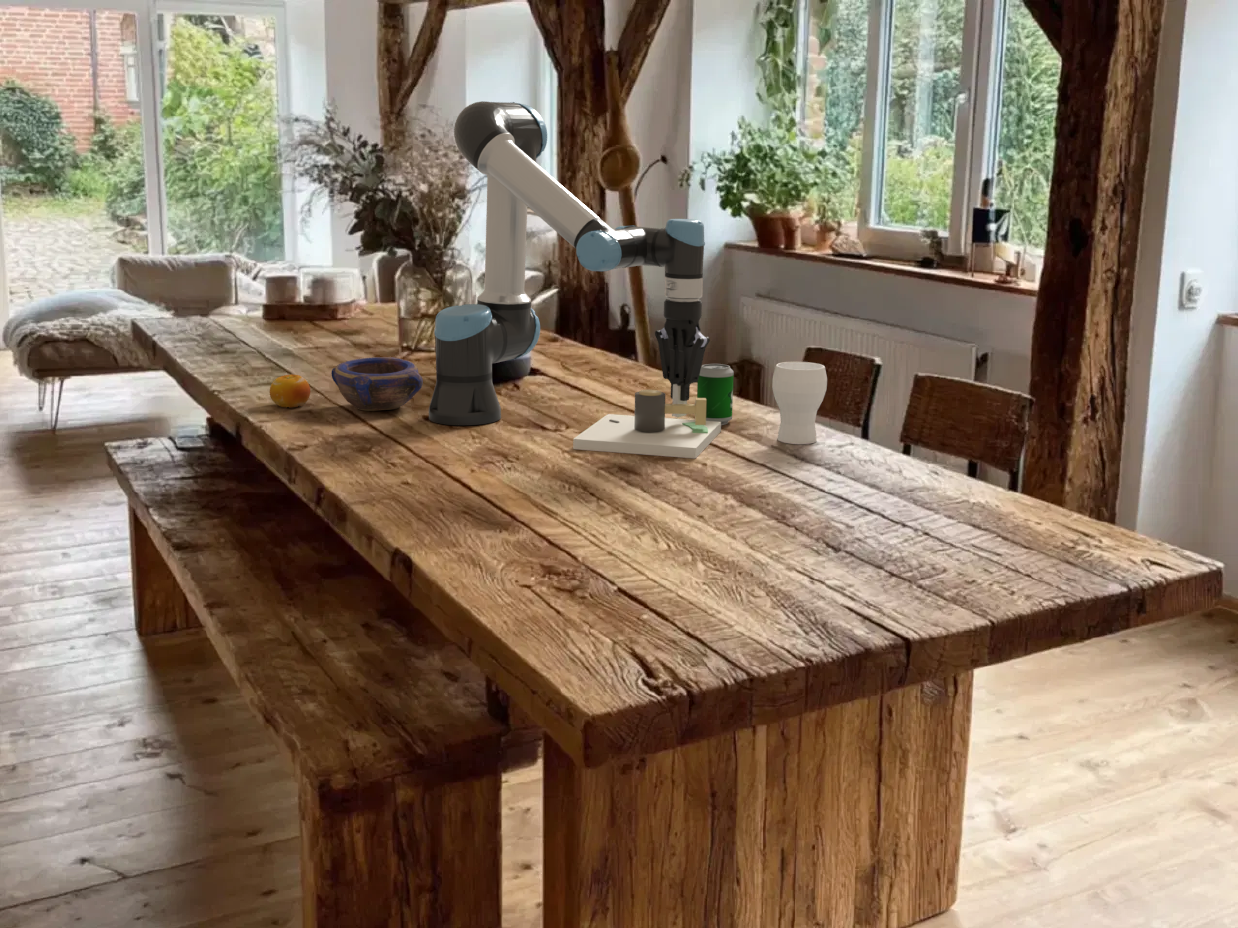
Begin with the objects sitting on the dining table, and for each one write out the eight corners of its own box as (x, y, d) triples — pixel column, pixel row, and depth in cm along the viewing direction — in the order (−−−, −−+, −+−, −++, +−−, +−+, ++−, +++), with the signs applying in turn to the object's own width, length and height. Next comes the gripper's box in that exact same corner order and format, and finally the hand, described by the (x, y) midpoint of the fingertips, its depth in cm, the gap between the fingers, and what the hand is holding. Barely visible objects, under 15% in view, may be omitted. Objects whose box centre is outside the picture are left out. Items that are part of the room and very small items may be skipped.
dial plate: (573, 449, 246) (573, 437, 245) (607, 423, 268) (607, 412, 267) (695, 458, 239) (696, 446, 239) (720, 431, 262) (721, 420, 261)
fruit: (255, 391, 279) (276, 361, 278) (279, 399, 287) (298, 369, 286) (280, 413, 276) (301, 382, 275) (303, 420, 284) (323, 390, 283)
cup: (828, 436, 258) (832, 363, 254) (818, 448, 248) (822, 372, 245) (776, 432, 261) (779, 359, 258) (764, 443, 252) (767, 368, 248)
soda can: (729, 427, 266) (731, 370, 263) (693, 425, 267) (695, 368, 264) (734, 419, 273) (735, 364, 270) (698, 417, 274) (700, 362, 271)
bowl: (349, 419, 269) (347, 372, 266) (326, 404, 284) (324, 359, 282) (431, 412, 277) (429, 366, 274) (404, 397, 292) (403, 354, 290)
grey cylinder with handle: (635, 431, 250) (635, 394, 248) (633, 425, 256) (634, 388, 254) (706, 432, 251) (707, 395, 249) (703, 425, 256) (704, 389, 255)
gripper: (646, 296, 255) (643, 412, 261) (694, 304, 246) (690, 423, 252) (672, 294, 260) (668, 408, 266) (720, 301, 251) (715, 418, 257)
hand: (679, 415), depth 259 cm, fingers closed
